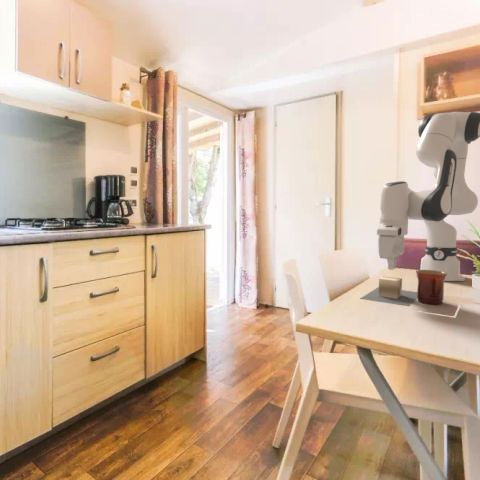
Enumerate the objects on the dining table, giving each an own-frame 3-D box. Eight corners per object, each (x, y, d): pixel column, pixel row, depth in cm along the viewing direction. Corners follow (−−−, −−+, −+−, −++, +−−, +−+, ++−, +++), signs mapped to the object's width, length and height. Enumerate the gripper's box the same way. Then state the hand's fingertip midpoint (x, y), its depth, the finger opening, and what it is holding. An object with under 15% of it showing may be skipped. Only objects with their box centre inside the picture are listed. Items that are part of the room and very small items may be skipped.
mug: (411, 299, 115) (412, 269, 115) (439, 300, 114) (441, 270, 113) (422, 309, 104) (424, 275, 103) (454, 311, 102) (456, 277, 101)
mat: (378, 288, 132) (378, 287, 132) (421, 294, 123) (421, 292, 123) (359, 300, 114) (359, 298, 114) (408, 307, 105) (409, 306, 105)
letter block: (383, 276, 122) (379, 278, 117) (402, 278, 118) (397, 280, 114) (383, 292, 123) (378, 295, 118) (401, 295, 119) (397, 298, 114)
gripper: (391, 227, 127) (389, 264, 129) (375, 230, 111) (373, 272, 112) (409, 228, 124) (408, 266, 125) (396, 230, 107) (394, 274, 109)
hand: (391, 269), depth 118 cm, fingers closed
